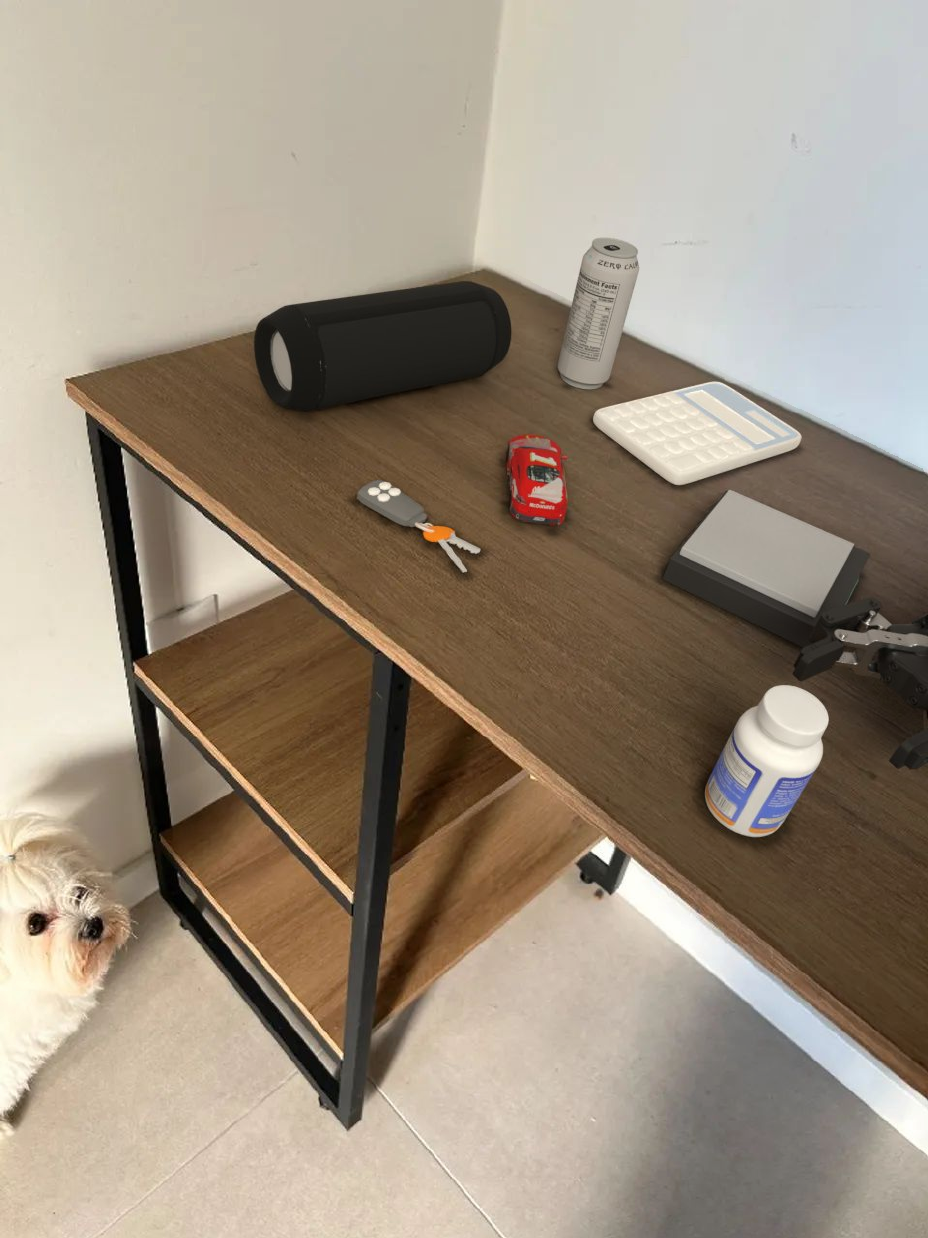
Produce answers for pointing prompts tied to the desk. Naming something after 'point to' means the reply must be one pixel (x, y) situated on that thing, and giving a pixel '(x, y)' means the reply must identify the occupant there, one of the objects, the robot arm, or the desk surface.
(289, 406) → the portable speaker
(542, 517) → the race car
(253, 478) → the desk surface
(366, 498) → the key chain
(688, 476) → the calculator
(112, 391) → the desk surface
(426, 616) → the desk surface
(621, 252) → the energy drink can
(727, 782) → the pill bottle
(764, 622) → the scale
